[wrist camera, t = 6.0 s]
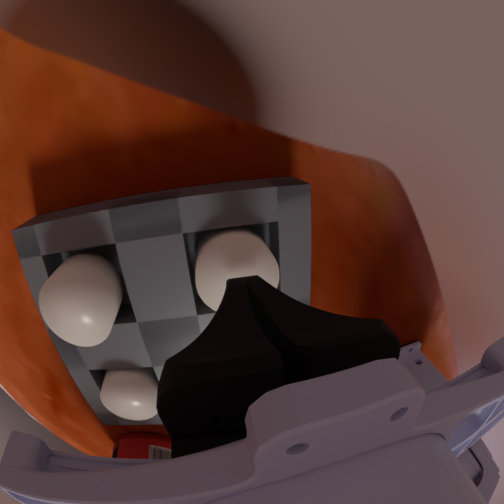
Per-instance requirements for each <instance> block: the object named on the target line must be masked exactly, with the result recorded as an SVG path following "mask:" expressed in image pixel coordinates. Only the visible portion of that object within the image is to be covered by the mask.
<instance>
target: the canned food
mask: <svg viewBox="0 0 504 504" xmlns="http://www.w3.org/2000/svg"><path fill="white" fill-rule="evenodd" d="M112 458H127V459H171V438H169V437H166V436H163V435H159V434H154V433H147V432H133V433H127V434H124V435H122V436H120V437H119V438H118V439H117V441H116V442H115V444H114V448H113V455H112Z"/></svg>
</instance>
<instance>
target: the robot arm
mask: <svg viewBox="0 0 504 504" xmlns="http://www.w3.org/2000/svg"><path fill="white" fill-rule="evenodd" d="M420 348H421V343H420V342H419V341H417V342H415V343H412V344H409V345H407V346H404V347H401V345H400V340H399V339H398V337H397V336H396V334H395V333H394V332H393V331H392V330H391V329H390V328H389V327H388V326H387V325H386V324H385V323H384V322H383V321H382V320H381V319H366V318H355V317H349V316H343V315H338V314H334V313H330V312H326V311H323V310H320V309H317V308H314V307H311V306H309V305H306V304H304V303H302V302H299V301H297V300H295V299H293V298H292V297H290V296H288V295H286V294H284V293H283V292H281V291H280V290H278V289H276V288H275V287H273V286H272V285H271V284H269V283H268V282H266V281H265V280H264V279H262V278H261V277H259V276H258V275H253V276H246V277H239V278H232V279H228V280H227V281H226V289H225V293H224V295H223V298H222V301H221V303H220V305H219V307H218V309H217V311H216V313H215V315H214V317H213V318H212V320H211V321H210V323H209V324H208V326H207V327H206V328H205V329H204V331H203V332H202V333H201V334H200V335H199V336H198V337H197V338H196V339H195V340H194V341H193V342H192V343H191V344H189V345H188V346H187V347H186V348H184V349H183V350H181V351H180V352H178V353H177V354H175V355H174V356H172V357H170V358H169V359H167V360H166V361H165V364H164V366H163V369H162V372H161V376H160V380H159V384H158V390H157V403H156V408H157V412H158V415H159V417H160V419H161V421H162V423H163V425H164V427H165V429H166V430H167V432H168V434H169V436H170V438H171V459H127V458H110V457H98V456H88V455H80V454H73V453H66V452H60V451H54V450H50V449H49V447H48V446H47V445H46V443H45V442H44V441H42V440H41V439H40V438H38V437H36V436H34V435H31V434H26V433H21V432H17V431H12V432H11V434H10V437H9V440H8V442H7V445H6V448H5V451H4V454H3V457H2V460H1V463H0V488H1V489H2V490H3V491H5V492H6V493H7V494H9V495H10V496H12V497H13V498H14V499H16V500H17V501H19V502H20V503H22V504H488V503H489V501H490V499H491V497H492V495H493V493H494V490H495V488H496V486H497V484H498V481H499V478H500V476H499V474H498V472H499V468H498V467H497V465H496V464H495V462H494V461H493V459H492V455H491V453H490V451H489V450H488V448H487V446H486V445H485V443H484V442H483V441H482V439H481V437H482V436H483V435H484V434H485V433H486V432H487V431H489V429H491V428H492V427H493V426H494V425H495V424H496V423H498V422H499V421H500V420H501V419H502V418H503V417H504V337H502V338H500V339H499V340H497V341H496V342H494V343H493V344H491V345H490V346H489V347H488V348H487V350H486V351H485V353H484V355H483V357H482V359H481V363H479V364H478V365H476V366H474V367H473V368H471V369H470V370H468V371H466V372H465V373H463V374H462V375H460V376H458V377H456V378H455V379H453V380H451V381H449V382H448V380H447V379H446V378H445V377H444V376H443V375H442V374H441V373H440V372H439V370H438V369H437V368H436V367H435V366H434V365H433V364H432V363H431V362H430V361H429V360H428V358H427V357H426V356H425V355H424V354H423V353H422V352H421V351H420Z"/></svg>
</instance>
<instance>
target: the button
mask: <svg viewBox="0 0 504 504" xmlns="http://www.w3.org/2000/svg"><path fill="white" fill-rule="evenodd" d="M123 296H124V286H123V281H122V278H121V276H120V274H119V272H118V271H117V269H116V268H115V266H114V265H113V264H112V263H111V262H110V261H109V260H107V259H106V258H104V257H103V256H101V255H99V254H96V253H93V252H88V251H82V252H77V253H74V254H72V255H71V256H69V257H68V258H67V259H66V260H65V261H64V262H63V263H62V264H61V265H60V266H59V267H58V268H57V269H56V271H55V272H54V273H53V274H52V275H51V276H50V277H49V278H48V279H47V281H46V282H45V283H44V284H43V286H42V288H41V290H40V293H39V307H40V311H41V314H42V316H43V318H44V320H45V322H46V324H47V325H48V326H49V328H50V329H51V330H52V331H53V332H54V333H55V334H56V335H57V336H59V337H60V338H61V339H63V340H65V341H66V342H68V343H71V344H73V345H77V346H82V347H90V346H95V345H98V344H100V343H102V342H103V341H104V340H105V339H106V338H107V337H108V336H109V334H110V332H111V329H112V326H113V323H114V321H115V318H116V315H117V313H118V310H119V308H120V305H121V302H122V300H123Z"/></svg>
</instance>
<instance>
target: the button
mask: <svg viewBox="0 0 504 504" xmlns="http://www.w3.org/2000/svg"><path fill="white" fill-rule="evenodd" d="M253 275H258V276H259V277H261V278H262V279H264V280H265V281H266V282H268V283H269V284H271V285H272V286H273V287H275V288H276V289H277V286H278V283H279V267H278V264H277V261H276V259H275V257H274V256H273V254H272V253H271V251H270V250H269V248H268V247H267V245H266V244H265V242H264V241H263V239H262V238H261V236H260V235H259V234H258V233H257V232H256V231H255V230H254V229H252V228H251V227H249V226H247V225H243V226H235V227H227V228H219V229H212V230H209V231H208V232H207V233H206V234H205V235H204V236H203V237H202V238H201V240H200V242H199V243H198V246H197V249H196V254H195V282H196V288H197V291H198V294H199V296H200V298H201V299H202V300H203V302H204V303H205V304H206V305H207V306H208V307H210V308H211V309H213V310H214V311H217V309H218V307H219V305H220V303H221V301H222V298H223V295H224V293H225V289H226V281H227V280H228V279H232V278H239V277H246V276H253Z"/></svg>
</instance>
